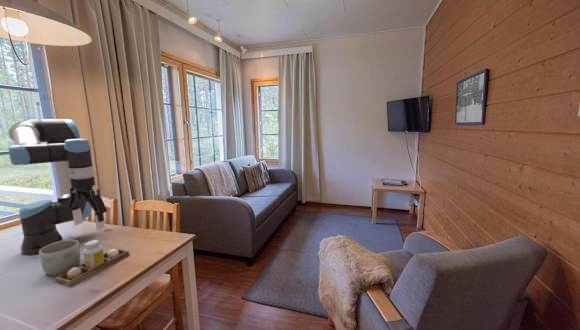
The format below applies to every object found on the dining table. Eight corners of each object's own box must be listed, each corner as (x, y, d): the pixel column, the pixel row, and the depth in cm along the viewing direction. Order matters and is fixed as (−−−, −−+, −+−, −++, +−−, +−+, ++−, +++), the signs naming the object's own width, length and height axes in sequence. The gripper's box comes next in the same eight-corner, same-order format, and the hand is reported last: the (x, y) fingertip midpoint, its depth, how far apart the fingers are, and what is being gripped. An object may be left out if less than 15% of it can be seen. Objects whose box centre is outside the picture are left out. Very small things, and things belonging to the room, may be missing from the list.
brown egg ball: (65, 280, 98) (63, 270, 97) (77, 273, 102) (76, 264, 101) (72, 282, 96) (70, 272, 95) (84, 275, 100) (83, 266, 100)
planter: (51, 282, 97) (46, 256, 95) (38, 273, 103) (33, 249, 101) (88, 266, 108) (84, 243, 106) (74, 259, 114) (70, 237, 112)
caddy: (55, 283, 96) (54, 277, 96) (116, 252, 119) (115, 248, 118) (70, 288, 94) (69, 282, 93) (129, 255, 116) (128, 251, 116)
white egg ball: (105, 259, 112) (104, 250, 111) (115, 254, 116) (113, 246, 115) (112, 261, 111) (111, 252, 110) (121, 256, 115) (120, 247, 114)
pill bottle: (108, 262, 110) (104, 238, 108) (98, 271, 103) (94, 245, 101) (92, 263, 109) (89, 239, 107) (81, 272, 103) (77, 246, 101)
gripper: (51, 176, 100) (59, 225, 104) (93, 181, 92) (100, 234, 96) (72, 173, 107) (79, 218, 111) (113, 177, 99) (119, 226, 103)
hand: (89, 226), depth 103 cm, fingers open, 13 cm apart
